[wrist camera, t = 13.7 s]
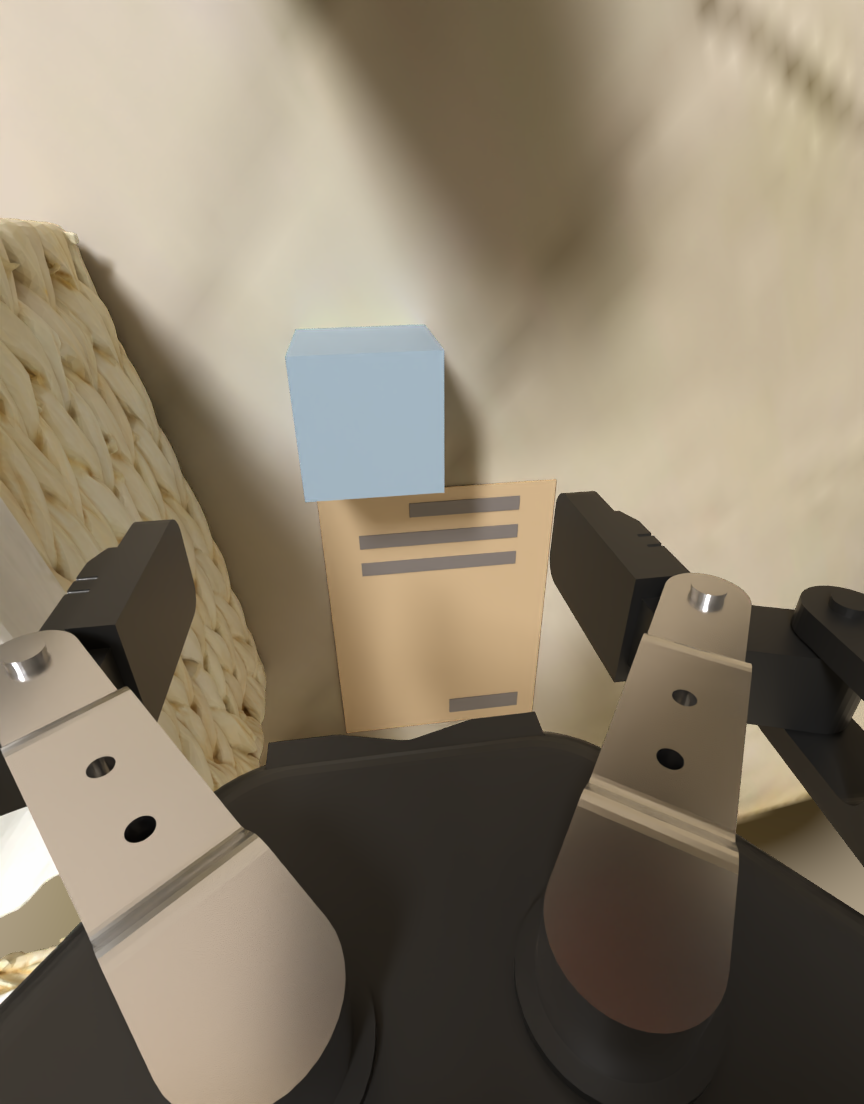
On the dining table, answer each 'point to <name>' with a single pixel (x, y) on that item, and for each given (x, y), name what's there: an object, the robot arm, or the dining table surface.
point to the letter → (437, 601)
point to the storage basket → (99, 521)
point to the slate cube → (368, 411)
